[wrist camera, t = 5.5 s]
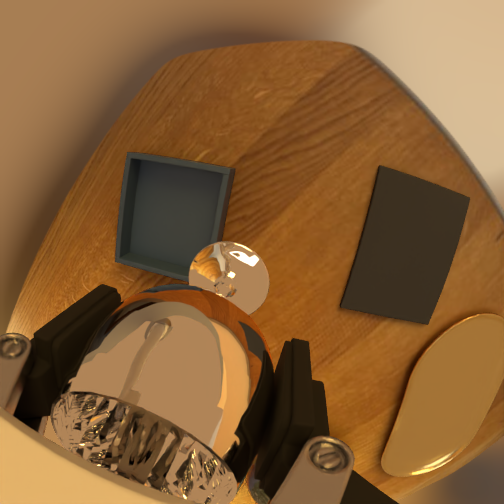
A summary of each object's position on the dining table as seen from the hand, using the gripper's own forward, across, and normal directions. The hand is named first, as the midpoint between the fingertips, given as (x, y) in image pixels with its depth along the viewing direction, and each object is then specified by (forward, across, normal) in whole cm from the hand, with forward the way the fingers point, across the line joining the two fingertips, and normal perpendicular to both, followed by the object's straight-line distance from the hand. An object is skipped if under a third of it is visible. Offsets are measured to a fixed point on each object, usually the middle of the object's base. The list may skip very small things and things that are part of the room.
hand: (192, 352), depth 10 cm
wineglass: (+7, 0, 0) cm, 7 cm away
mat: (+23, -17, -2) cm, 29 cm away
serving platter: (+24, -35, +20) cm, 47 cm away
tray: (+24, +9, +1) cm, 25 cm away
